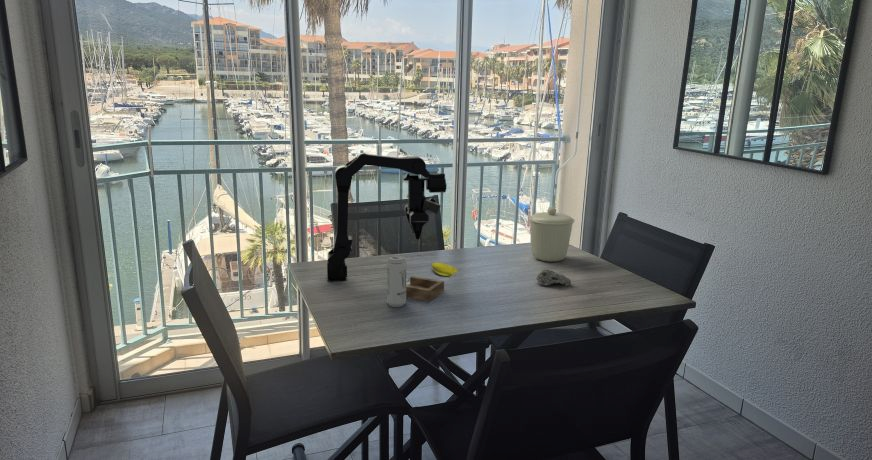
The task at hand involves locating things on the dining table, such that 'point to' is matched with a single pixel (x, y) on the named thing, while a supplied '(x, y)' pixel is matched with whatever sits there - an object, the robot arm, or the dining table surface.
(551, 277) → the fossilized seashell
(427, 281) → the wooden tray
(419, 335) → the dining table surface
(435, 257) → the dining table surface
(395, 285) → the energy drink can
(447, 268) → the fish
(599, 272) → the dining table surface
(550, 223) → the canister
